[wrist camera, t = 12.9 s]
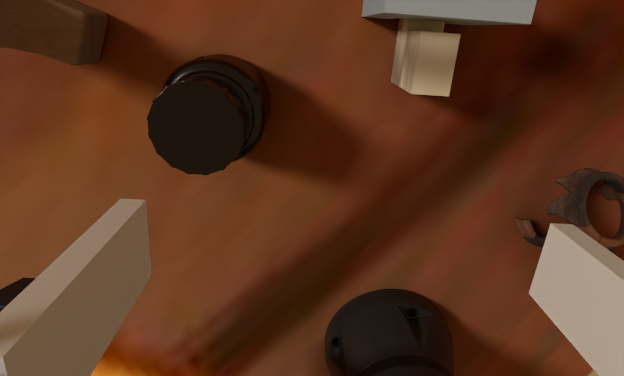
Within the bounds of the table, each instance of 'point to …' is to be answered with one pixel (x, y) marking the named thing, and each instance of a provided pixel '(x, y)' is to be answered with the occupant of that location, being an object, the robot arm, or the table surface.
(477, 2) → the slotted plate
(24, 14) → the wooden block
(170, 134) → the ink bottle
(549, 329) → the table surface
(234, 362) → the table surface
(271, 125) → the table surface
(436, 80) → the slotted board
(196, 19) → the table surface
